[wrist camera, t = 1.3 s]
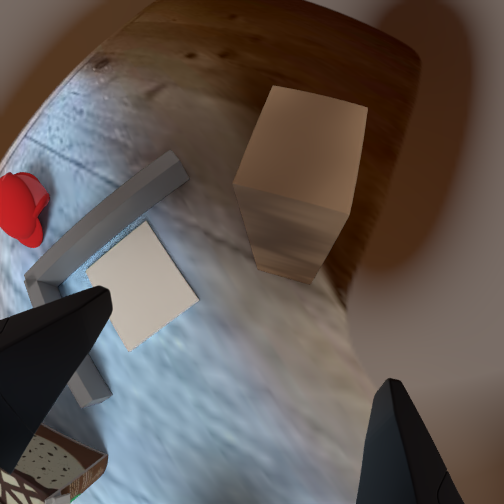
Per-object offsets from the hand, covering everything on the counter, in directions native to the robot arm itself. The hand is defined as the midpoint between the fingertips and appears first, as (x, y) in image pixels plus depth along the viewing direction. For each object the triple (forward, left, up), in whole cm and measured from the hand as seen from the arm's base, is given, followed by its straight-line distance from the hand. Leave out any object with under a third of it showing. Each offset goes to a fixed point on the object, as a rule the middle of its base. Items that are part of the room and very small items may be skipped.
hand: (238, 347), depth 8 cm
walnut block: (+4, -6, -13) cm, 15 cm away
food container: (0, +22, -13) cm, 26 cm away
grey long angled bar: (+9, +5, -13) cm, 17 cm away
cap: (+23, +12, -13) cm, 30 cm away
